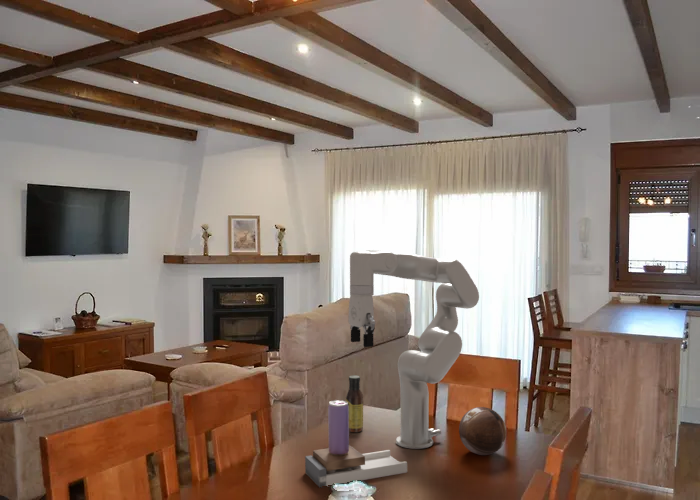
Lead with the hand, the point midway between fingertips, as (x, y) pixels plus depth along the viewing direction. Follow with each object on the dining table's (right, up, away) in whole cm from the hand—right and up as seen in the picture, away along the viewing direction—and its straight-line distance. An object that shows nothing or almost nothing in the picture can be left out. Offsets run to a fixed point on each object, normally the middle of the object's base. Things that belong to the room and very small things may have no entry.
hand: (361, 344), depth 200 cm
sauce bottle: (-2, -36, +28) cm, 46 cm away
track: (-2, -37, -12) cm, 39 cm away
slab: (-7, -35, -14) cm, 38 cm away
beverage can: (-7, -30, -14) cm, 34 cm away
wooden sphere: (+39, -36, +4) cm, 54 cm away
